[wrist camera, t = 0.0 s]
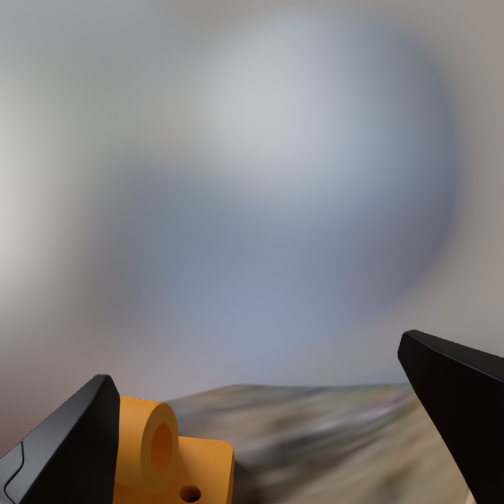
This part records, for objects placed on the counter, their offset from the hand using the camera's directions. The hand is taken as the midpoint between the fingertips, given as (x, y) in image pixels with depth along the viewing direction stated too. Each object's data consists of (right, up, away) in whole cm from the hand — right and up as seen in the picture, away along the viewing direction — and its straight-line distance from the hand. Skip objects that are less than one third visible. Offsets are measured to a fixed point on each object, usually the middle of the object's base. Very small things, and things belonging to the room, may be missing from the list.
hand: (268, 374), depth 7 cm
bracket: (-6, -16, +7) cm, 18 cm away
